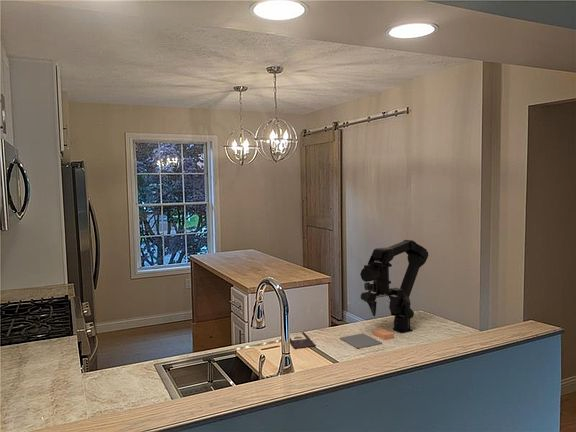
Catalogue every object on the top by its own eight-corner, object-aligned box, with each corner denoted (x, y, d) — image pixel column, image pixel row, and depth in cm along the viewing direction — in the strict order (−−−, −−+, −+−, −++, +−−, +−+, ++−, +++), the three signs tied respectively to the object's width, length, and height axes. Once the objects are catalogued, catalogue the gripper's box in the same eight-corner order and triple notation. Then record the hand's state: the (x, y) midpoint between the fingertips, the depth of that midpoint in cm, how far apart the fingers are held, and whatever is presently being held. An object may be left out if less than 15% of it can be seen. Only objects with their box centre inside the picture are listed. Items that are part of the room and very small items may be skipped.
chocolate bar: (294, 347, 180) (284, 334, 198) (294, 350, 180) (284, 336, 198) (315, 345, 182) (303, 332, 200) (315, 347, 182) (304, 334, 200)
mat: (363, 334, 196) (363, 333, 196) (382, 343, 183) (382, 342, 183) (339, 338, 191) (339, 337, 191) (357, 348, 178) (357, 347, 178)
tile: (382, 334, 196) (382, 328, 196) (394, 339, 189) (393, 333, 189) (372, 335, 194) (372, 330, 194) (384, 341, 187) (384, 335, 187)
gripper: (388, 272, 201) (389, 307, 202) (353, 277, 194) (354, 313, 195) (404, 276, 191) (405, 312, 192) (367, 282, 184) (368, 319, 185)
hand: (383, 314), depth 191 cm, fingers open, 9 cm apart
